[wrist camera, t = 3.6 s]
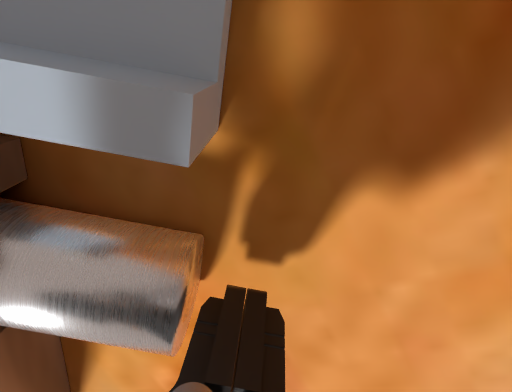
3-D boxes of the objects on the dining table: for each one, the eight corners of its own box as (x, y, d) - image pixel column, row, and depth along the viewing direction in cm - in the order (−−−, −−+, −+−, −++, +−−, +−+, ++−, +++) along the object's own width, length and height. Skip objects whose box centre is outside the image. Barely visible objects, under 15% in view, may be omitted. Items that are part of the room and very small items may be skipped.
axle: (208, 217, 12) (178, 274, 8) (197, 302, 13) (165, 387, 9) (-82, 164, 12) (-257, 195, 8) (-65, 254, 13) (-209, 320, 9)
